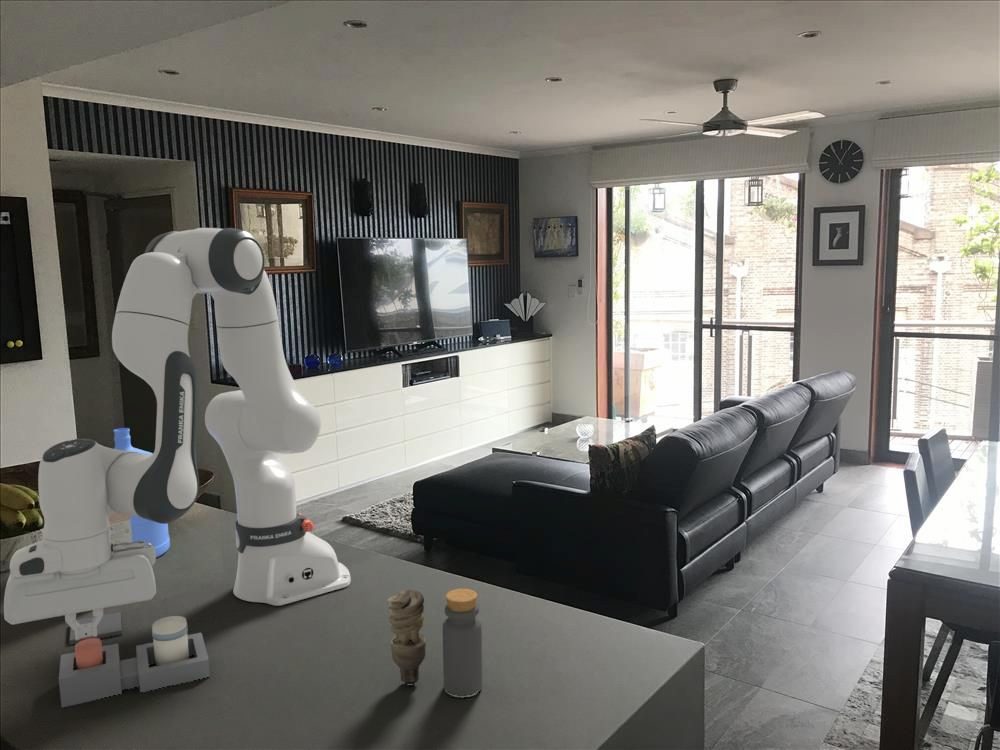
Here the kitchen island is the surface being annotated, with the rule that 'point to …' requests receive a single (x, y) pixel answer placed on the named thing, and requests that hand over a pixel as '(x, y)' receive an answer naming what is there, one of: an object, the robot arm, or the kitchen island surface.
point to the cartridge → (170, 640)
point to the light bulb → (407, 633)
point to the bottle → (462, 643)
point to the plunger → (88, 653)
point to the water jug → (139, 525)
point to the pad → (101, 627)
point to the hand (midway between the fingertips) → (86, 637)
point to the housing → (128, 672)
